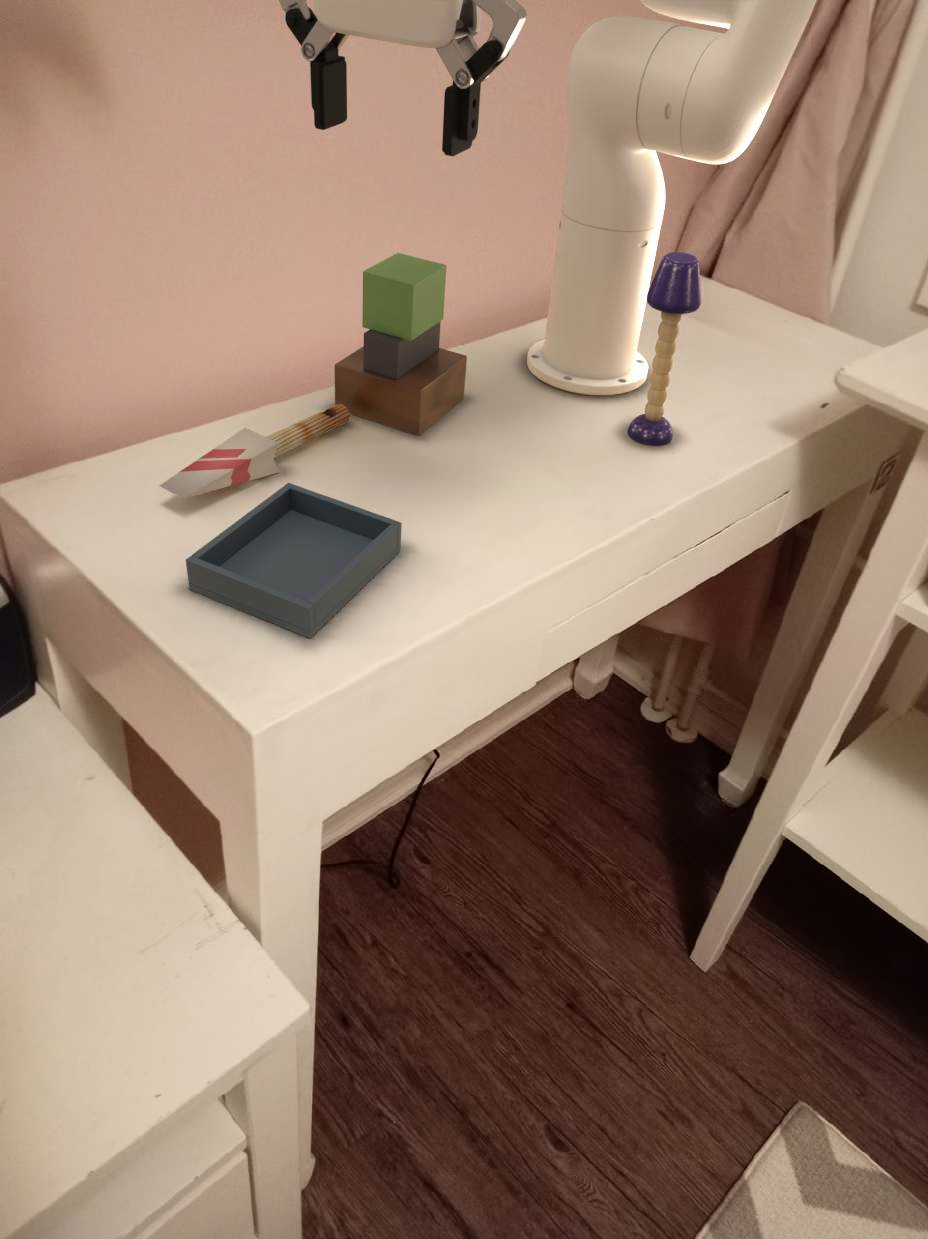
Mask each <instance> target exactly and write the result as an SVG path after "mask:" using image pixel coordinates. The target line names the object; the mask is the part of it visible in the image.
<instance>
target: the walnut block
mask: <svg viewBox="0 0 928 1239" xmlns="http://www.w3.org/2000/svg"><path fill="white" fill-rule="evenodd" d="M363 356H364V345H363V346H361V347H360V348H358V349H357V350H355V351H354V352H352V353H350V354H349V355H347V356H345V357H344V358H342V359H341V360H339V361H338V362H337V363H334V406H335V405H337V404H342V405H344V406H346V407H347V409H348V410H349V411H348V412H350V416H351V415H352V416H354V417H358V418H361V419H364V420H367V421H370V422H373V423H377V424H379V425H381V426H386V427H389V428H392V429H394V430H398V431H401V432H405V433H408V434H411V435H413V436H416V437H420V436H421V435H422V434H423V433H424V432H425V431H428V429H429V428H431V427H432V426H433V425H434V424H435V423H436V422H438V421H439V420H440V419H442V417H444V416H445V415H446V414H447V413H449V412H450V411H451V410H452V409H454V408H455V407H456V406H457V405H459V403H461V402H462V401H463V400H464V398H465V388H466V374H467V373H466V372H467V364H468V363H467V361H468V355H466V354H462V353H459V352H456V351H452V350H448V349H445V348H441V347H439V350H438V351H437V352H435V353H434V354H432V355H431V356H430V357H428V358H427V359H425V360H424V361H423V362H421V363H420V364H419V365H417V366H416V367H414V368H413V369H412V370H410V371H409V372H407V373H406V374H405V375H403V376H402V377H400V378H399V379H398V380H394V379H391V378H388V377H384V376H381V375H378V374H374V373H371V372H368V371H365V370H363Z"/></svg>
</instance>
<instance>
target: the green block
mask: <svg viewBox="0 0 928 1239" xmlns="http://www.w3.org/2000/svg"><path fill="white" fill-rule="evenodd" d="M446 280H447V264H444V263H440V262H435V261H432V260H428V259H424V258H421V257H416V256H412V255H409V254H404V253H401V252H396V253H395V254H392V255H391V256H389V257H386V258H385V259H383V260H382V261H379V262H378V263H376V264H374V265H372V266H370V267H367V268H366V269H365V270H363V271H362V324H361V326H362V328H364V329H368V330H370V329H371V330H374V331H378V332H381V333H385V334H388V335H392V336H395V337H399V338H402V339H406V340H409V341H412V340H413V339H415V338H416V337H418V336H419V335H421V334H422V333H424V332H425V331H427V330H428V329H430V328H431V327H433V326H434V325H436V324H437V323H439V322H440V321H441V322H442V321H443V320H444V314H445V313H444V311H445V298H446V283H447V282H446Z"/></svg>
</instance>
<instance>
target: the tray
mask: <svg viewBox="0 0 928 1239" xmlns="http://www.w3.org/2000/svg"><path fill="white" fill-rule="evenodd" d="M401 547H402V522H401V521H398V520H395V519H393V518H390V517H386V516H384V515H381V514H378V513H376V512H372V511H370V510H367V509H364V508H362V507H359V506H356V505H353V504H350V503H348V502H345V501H342V500H338V499H336V498H333V497H330V496H328V495H325V494H322V493H319V492H317V491H313V490H311V489H308V488H305V487H302V486H299V485H297V484H294V483H290V482H286V483H285V484H284V485H283V486H282V487H281V488H279V489H277V491H275V492H274V493H272V494H271V495H270V496H268V497H267V498H266V499H264V500H263V501H261V502H260V503H259V504H258V505H256V506H255V507H253V508H252V509H251V510H250V511H249V512H247V513H245V515H243V516H241V517H240V518H239V519H238V520H236V521H235V522H234V523H232V524H231V525H230V526H229V527H227V528H226V529H224V530H223V531H221V532H220V533H219V534H218V535H216V536H215V537H214V538H213V539H211V540H210V541H208V542H207V543H206V544H204V545H203V546H202V547H200V548H199V549H198V550H196V551H195V552H193V553H192V554H191V555H190V556H188V557H187V558H186V559H185V564H186V572H187V573H186V574H187V580H188V589H189V590H191V591H193V592H195V593H198V594H200V595H203V596H204V597H208V598H210V599H213V600H215V601H217V602H220V603H222V604H224V605H226V606H229V607H232V608H234V609H236V610H239V611H242V612H244V613H247V614H249V615H251V616H253V617H256V618H259V619H261V620H263V621H266V622H268V623H271V624H274V625H276V626H278V627H280V628H282V629H285V630H287V631H290V632H293V633H295V634H298V635H300V636H302V637H305V638H307V639H312V638H313V637H314V635H315V634H317V633H318V632H319V631H320V630H321V629H322V628H323V627H324V626H325V625H326V624H327V623H328V622H329V621H330V620H331V619H332V618H333V617H334V616H335V615H336V614H338V612H340V611H341V609H343V608H344V607H345V605H346V604H348V602H350V601H351V600H352V599H353V598H354V597H355V596H356V595H357V594H358V593H359V592H360V591H361V590H362V589H363V588H364V587H365V586H366V585H367V584H368V583H369V582H370V581H371V580H372V579H373V578H374V577H376V575H377V574H379V573H380V571H382V570H383V569H384V568H385V567H386V566H387V565H388V564H389V562H391V561H392V560H393V559H394V558H395V557H396V556H397V555H398V554H399V553H400V552H401V551H402V550H401V549H402V548H401Z"/></svg>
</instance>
